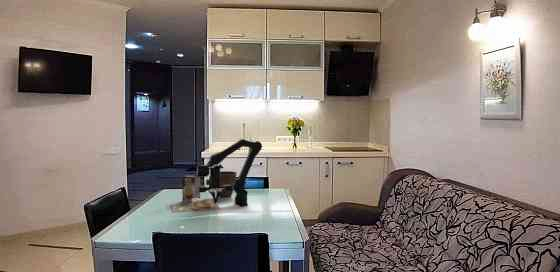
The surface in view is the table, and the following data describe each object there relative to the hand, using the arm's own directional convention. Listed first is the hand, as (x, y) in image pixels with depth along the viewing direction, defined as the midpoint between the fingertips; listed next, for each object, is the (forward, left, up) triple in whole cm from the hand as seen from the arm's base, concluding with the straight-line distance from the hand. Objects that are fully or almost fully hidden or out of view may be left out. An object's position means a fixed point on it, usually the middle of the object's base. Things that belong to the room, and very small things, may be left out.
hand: (215, 203), depth 224 cm
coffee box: (+12, -18, -2) cm, 22 cm away
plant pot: (-10, -25, -2) cm, 27 cm away
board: (+12, 0, -2) cm, 12 cm away
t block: (+8, 0, -1) cm, 8 cm away
